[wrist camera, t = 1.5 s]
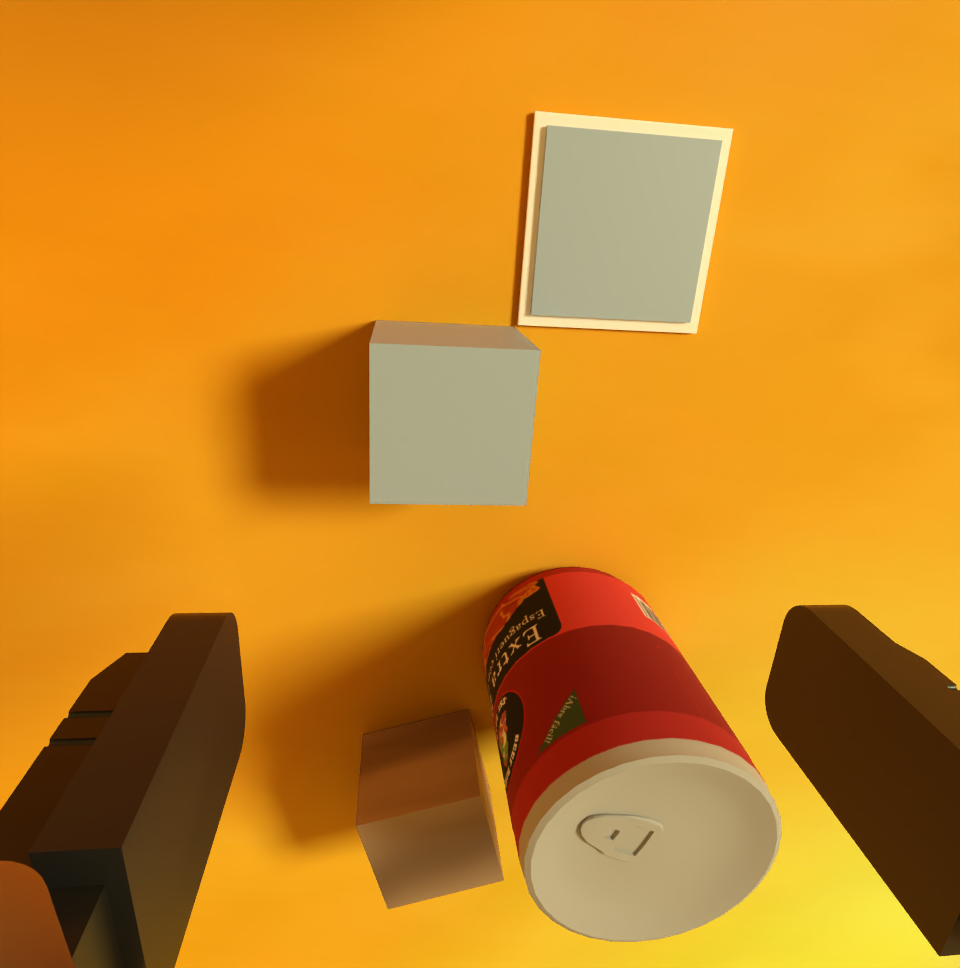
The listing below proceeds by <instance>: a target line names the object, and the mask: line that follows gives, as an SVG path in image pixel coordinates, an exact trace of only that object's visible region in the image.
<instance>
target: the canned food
mask: <svg viewBox="0 0 960 968" xmlns="http://www.w3.org/2000/svg"><path fill="white" fill-rule="evenodd" d="M482 649H483V665H484V670H485V676H486V682H487V687H488V693H489V698H490V704H491V710H492V715H493V721H494V727H495V732H496V738H497V743H498V749H499V755H500V760H501V766H502V772H503V777H504V783H505V789H506V794H507V800H508V805H509V811H510V817H511V822H512V828H513V832H514V835H515V840H516V846H517V851H518V857H519V861H520V864H521V868H522V871H523V875H524V877H525V880H526V884H527V887H528V890H529V894H530V895H531V897H532V898H533V900H534V901H535V903H536V905H537V906H538V908H539V909H540V910H541V911H542V912H543V913H544V914H546V915H547V916H548V917H549V918H550V919H551V920H552V921H554V922H555V923H557V924H559V925H560V926H562V927H564V928H566V929H567V930H569V931H572V932H575V933H577V934H580V935H583V936H586V937H589V938H595V939H600V940H606V941H619V942H637V941H647V940H656V939H661V938H665V937H669V936H673V935H678V934H681V933H684V932H687V931H689V930H692V929H695V928H697V927H700V926H703V925H705V924H707V923H708V922H710V921H712V920H714V919H716V918H718V917H720V916H722V915H724V914H725V913H726V912H728V911H729V910H731V909H732V908H733V907H735V906H736V905H738V904H739V903H740V902H742V901H743V900H744V899H745V898H746V897H747V896H748V895H749V894H750V893H751V892H752V891H753V890H754V889H755V888H756V887H757V886H758V885H759V884H760V882H761V881H762V880H763V878H764V877H765V875H766V874H767V873H768V871H769V870H770V868H771V866H772V864H773V862H774V859H775V857H776V855H777V853H778V849H779V844H780V839H781V818H780V814H779V812H778V809H777V806H776V803H775V800H774V799H773V797H772V796H771V794H770V792H769V790H768V787H767V784H766V783H765V781H764V780H763V778H762V776H761V775H760V773H759V772H758V770H757V769H756V767H755V766H754V764H753V763H752V761H751V759H750V757H749V755H748V754H747V752H746V751H745V749H744V748H743V746H742V745H741V743H740V742H739V740H738V739H737V737H736V736H735V734H734V733H733V731H732V730H731V728H730V727H729V725H728V724H727V722H726V721H725V719H724V718H723V716H722V715H721V713H720V711H719V710H718V708H717V707H716V705H715V704H714V702H713V701H712V699H711V698H710V696H709V695H708V693H707V692H706V690H705V689H704V687H703V686H702V684H701V683H700V681H699V680H698V678H697V677H696V675H695V674H694V672H693V671H692V669H691V668H690V666H689V665H688V663H687V662H686V660H685V659H684V657H683V656H682V654H681V653H680V651H679V650H678V648H677V647H676V645H675V644H674V642H673V641H672V639H671V638H670V636H669V635H668V633H667V631H666V630H665V628H664V627H663V625H662V624H661V622H660V621H659V619H658V618H657V616H656V615H655V613H654V612H653V610H652V609H651V607H650V606H649V605H648V603H647V602H646V600H645V599H644V598H643V597H642V596H641V595H640V594H639V593H638V592H637V591H636V590H634V589H633V588H632V587H631V586H629V585H627V584H626V583H624V582H622V581H621V580H619V579H617V578H615V577H613V576H612V575H610V574H607V573H604V572H601V571H598V570H595V569H589V568H582V567H567V568H558V569H553V570H549V571H544V572H542V573H539V574H537V575H535V576H532V577H530V578H528V579H526V580H525V581H523V582H521V583H520V584H518V585H517V586H515V587H514V588H513V589H512V590H511V591H510V592H509V593H507V594H506V595H505V596H504V597H503V598H502V600H501V601H500V602H499V604H498V605H497V607H496V608H495V609H494V611H493V614H492V616H491V618H490V620H489V622H488V626H487V629H486V632H485V637H484V641H483V646H482Z"/></svg>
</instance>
